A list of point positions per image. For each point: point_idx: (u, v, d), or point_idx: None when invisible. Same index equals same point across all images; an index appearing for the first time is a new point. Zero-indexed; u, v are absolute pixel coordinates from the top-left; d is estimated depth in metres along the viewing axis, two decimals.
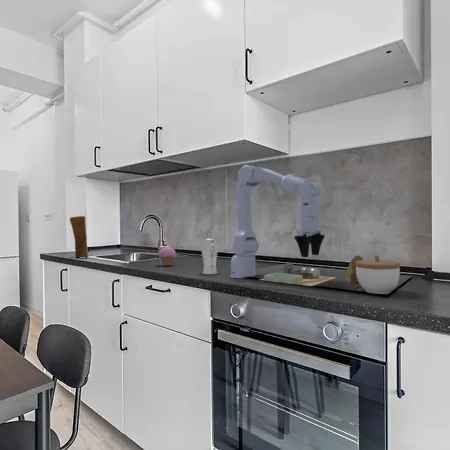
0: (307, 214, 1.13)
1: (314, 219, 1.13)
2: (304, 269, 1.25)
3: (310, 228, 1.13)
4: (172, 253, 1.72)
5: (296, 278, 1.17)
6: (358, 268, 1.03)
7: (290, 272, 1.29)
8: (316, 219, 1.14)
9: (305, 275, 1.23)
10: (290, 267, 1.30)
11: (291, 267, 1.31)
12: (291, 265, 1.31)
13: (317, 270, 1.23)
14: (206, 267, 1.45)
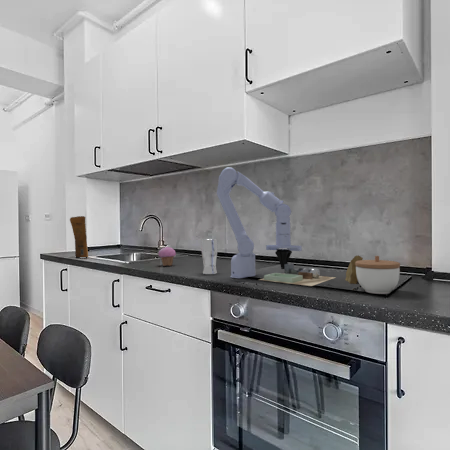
0: (285, 232, 1.30)
1: (277, 237, 1.31)
2: (304, 269, 1.25)
3: (276, 244, 1.33)
4: (172, 253, 1.72)
5: (296, 278, 1.17)
6: (358, 268, 1.03)
7: (290, 272, 1.29)
8: (279, 237, 1.30)
9: (305, 275, 1.23)
10: (290, 267, 1.30)
11: (291, 267, 1.31)
12: (291, 265, 1.31)
13: (317, 270, 1.23)
14: (206, 267, 1.45)
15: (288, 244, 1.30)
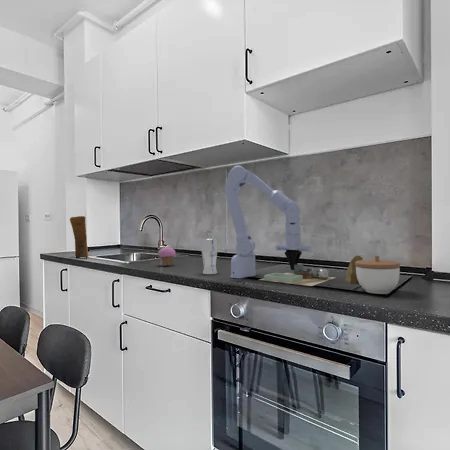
0: (294, 232, 1.27)
1: (286, 237, 1.28)
2: (312, 269, 1.23)
3: (285, 245, 1.30)
4: (172, 253, 1.72)
5: (296, 278, 1.17)
6: (358, 268, 1.03)
7: None
8: (288, 237, 1.28)
9: (305, 275, 1.23)
10: (300, 268, 1.27)
11: (301, 268, 1.28)
12: (301, 266, 1.28)
13: (326, 271, 1.21)
14: (206, 267, 1.45)
15: (297, 244, 1.27)
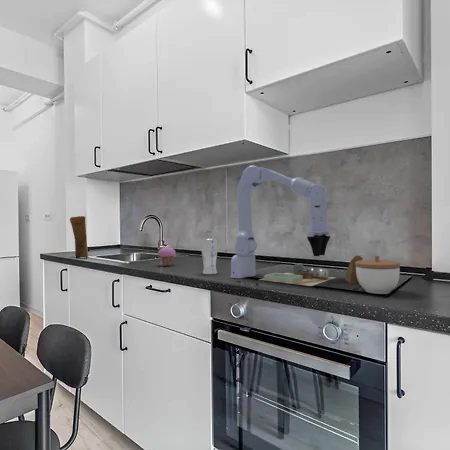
0: (319, 216, 1.20)
1: (323, 221, 1.20)
2: (312, 269, 1.23)
3: (319, 229, 1.20)
4: (172, 253, 1.72)
5: (296, 278, 1.17)
6: (358, 268, 1.03)
7: None
8: (325, 221, 1.21)
9: (305, 275, 1.23)
10: (300, 268, 1.27)
11: (301, 268, 1.28)
12: (301, 266, 1.28)
13: (326, 271, 1.21)
14: (206, 267, 1.45)
15: None
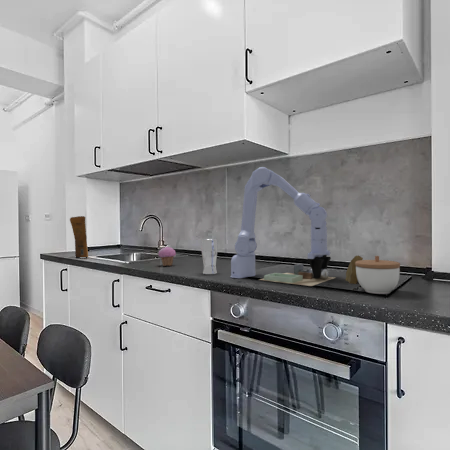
0: (319, 238, 1.20)
1: (324, 243, 1.20)
2: None
3: (320, 251, 1.20)
4: (172, 253, 1.72)
5: (296, 278, 1.17)
6: (358, 268, 1.03)
7: None
8: (325, 242, 1.21)
9: (305, 275, 1.23)
10: (300, 268, 1.27)
11: (301, 268, 1.28)
12: (301, 266, 1.28)
13: (326, 271, 1.21)
14: (206, 267, 1.45)
15: None
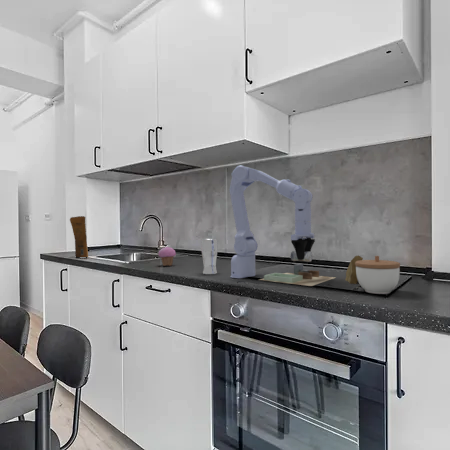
0: (302, 219, 1.20)
1: (308, 224, 1.20)
2: None
3: (303, 233, 1.19)
4: (172, 253, 1.72)
5: (296, 278, 1.17)
6: (358, 268, 1.03)
7: None
8: (309, 224, 1.20)
9: (305, 275, 1.23)
10: (300, 268, 1.27)
11: (301, 268, 1.28)
12: (301, 266, 1.28)
13: (310, 253, 1.21)
14: (206, 267, 1.45)
15: None
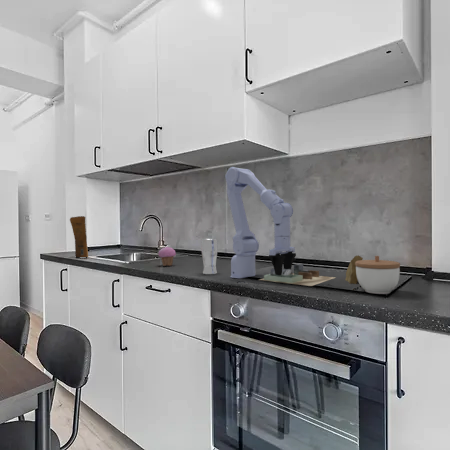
0: (279, 234, 1.19)
1: (287, 239, 1.19)
2: None
3: (282, 247, 1.19)
4: (172, 253, 1.72)
5: (296, 278, 1.17)
6: (358, 268, 1.03)
7: None
8: (288, 239, 1.19)
9: (305, 275, 1.23)
10: (300, 268, 1.27)
11: (301, 268, 1.28)
12: (301, 266, 1.28)
13: (289, 271, 1.20)
14: (206, 267, 1.45)
15: None
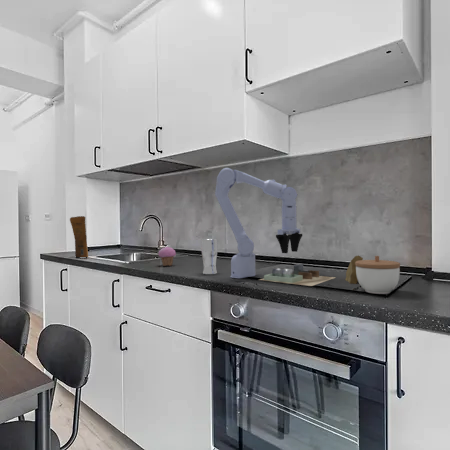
0: (291, 215, 1.29)
1: (293, 220, 1.30)
2: (279, 268, 1.24)
3: (289, 228, 1.29)
4: (172, 253, 1.72)
5: (296, 278, 1.17)
6: (358, 268, 1.03)
7: None
8: (294, 220, 1.30)
9: (305, 275, 1.23)
10: (300, 268, 1.27)
11: (301, 268, 1.28)
12: (301, 266, 1.28)
13: (292, 271, 1.21)
14: (206, 267, 1.45)
15: None
